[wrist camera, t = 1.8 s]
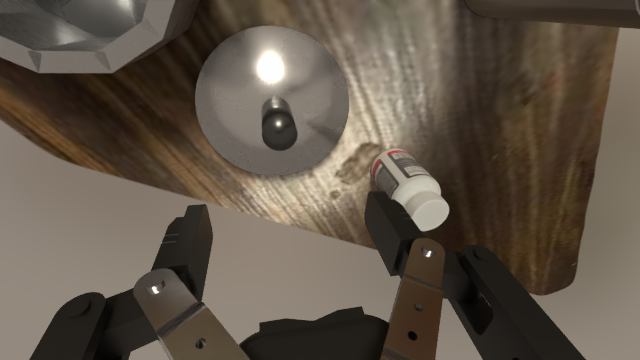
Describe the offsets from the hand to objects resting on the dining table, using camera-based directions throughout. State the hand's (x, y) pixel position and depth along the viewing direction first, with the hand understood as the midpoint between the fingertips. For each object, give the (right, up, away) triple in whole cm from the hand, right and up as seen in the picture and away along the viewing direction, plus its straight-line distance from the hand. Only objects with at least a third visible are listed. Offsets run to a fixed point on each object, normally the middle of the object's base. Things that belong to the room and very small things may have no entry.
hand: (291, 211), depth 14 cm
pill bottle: (+10, +3, +21) cm, 24 cm away
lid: (-3, +9, +14) cm, 17 cm away
